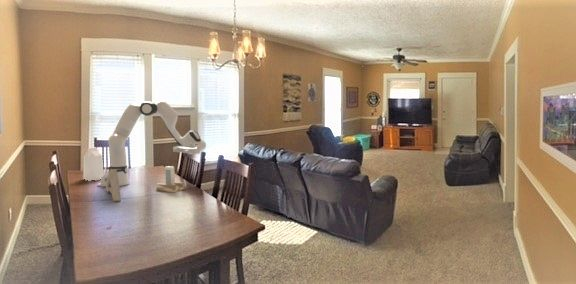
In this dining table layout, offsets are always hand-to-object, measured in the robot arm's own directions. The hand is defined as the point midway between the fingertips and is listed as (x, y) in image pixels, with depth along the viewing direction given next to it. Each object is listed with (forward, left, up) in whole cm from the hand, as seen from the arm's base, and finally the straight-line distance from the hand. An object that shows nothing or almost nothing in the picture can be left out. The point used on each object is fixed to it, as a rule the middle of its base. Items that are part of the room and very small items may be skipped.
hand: (179, 151), depth 297 cm
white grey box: (-4, -11, -25) cm, 27 cm away
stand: (-3, -12, -26) cm, 29 cm away
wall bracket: (-35, -32, -27) cm, 55 cm away
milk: (-78, +24, -26) cm, 86 cm away
